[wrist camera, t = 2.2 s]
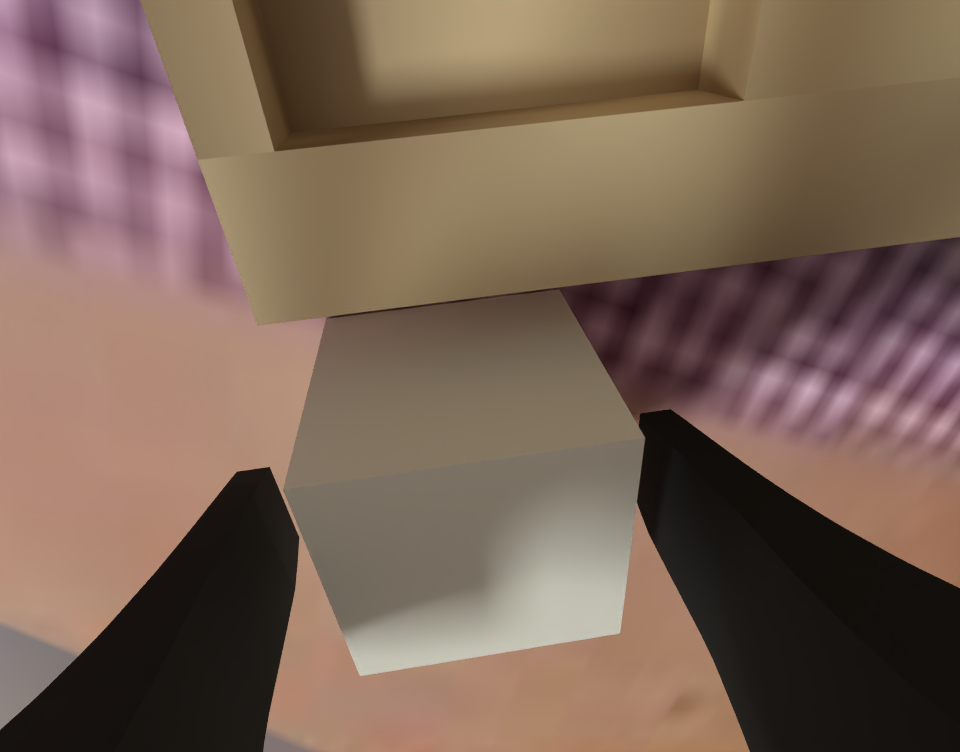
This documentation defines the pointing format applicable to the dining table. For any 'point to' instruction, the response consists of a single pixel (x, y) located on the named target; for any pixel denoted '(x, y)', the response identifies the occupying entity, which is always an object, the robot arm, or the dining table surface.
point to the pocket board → (557, 138)
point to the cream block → (465, 481)
